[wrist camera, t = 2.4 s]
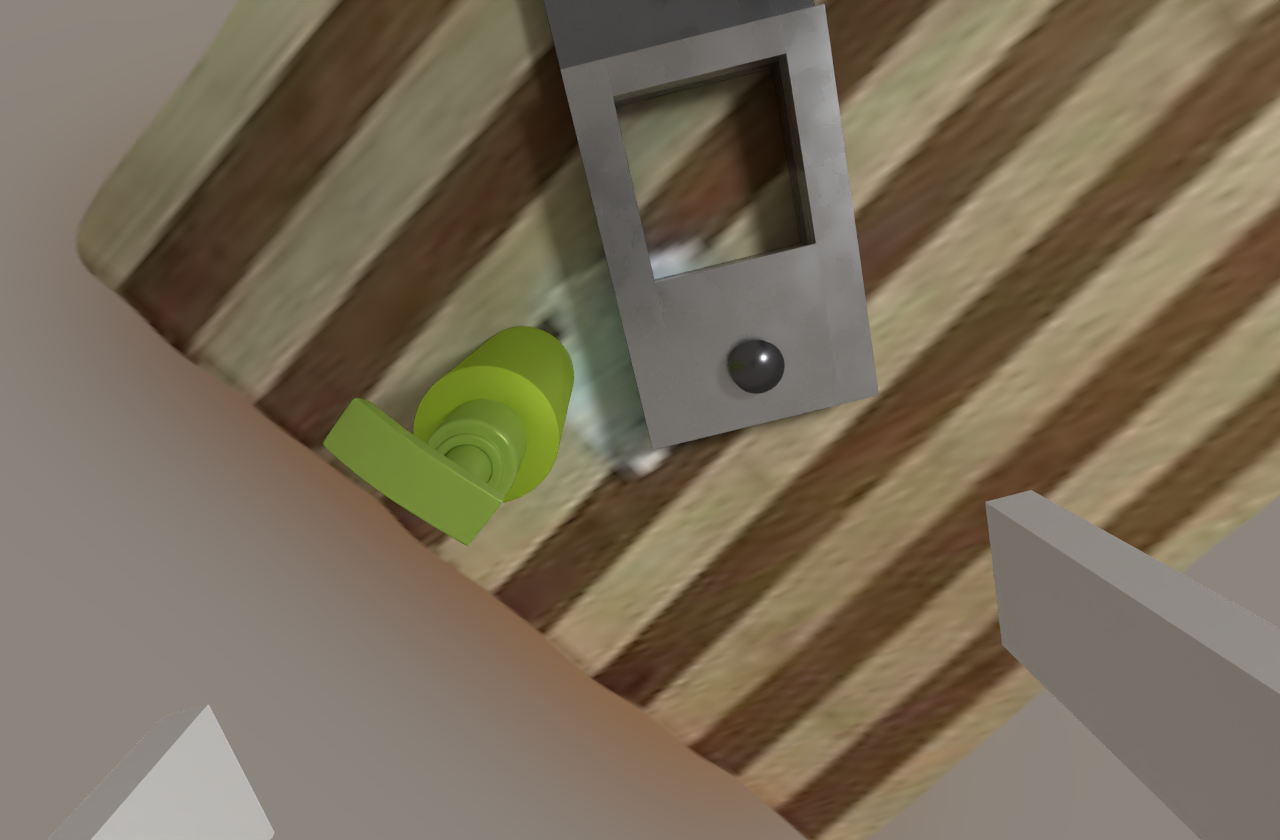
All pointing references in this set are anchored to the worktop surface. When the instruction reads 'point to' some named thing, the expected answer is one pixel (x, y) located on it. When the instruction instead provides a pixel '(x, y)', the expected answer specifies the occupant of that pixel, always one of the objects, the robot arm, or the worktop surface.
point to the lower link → (657, 14)
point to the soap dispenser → (467, 434)
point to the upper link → (743, 290)
